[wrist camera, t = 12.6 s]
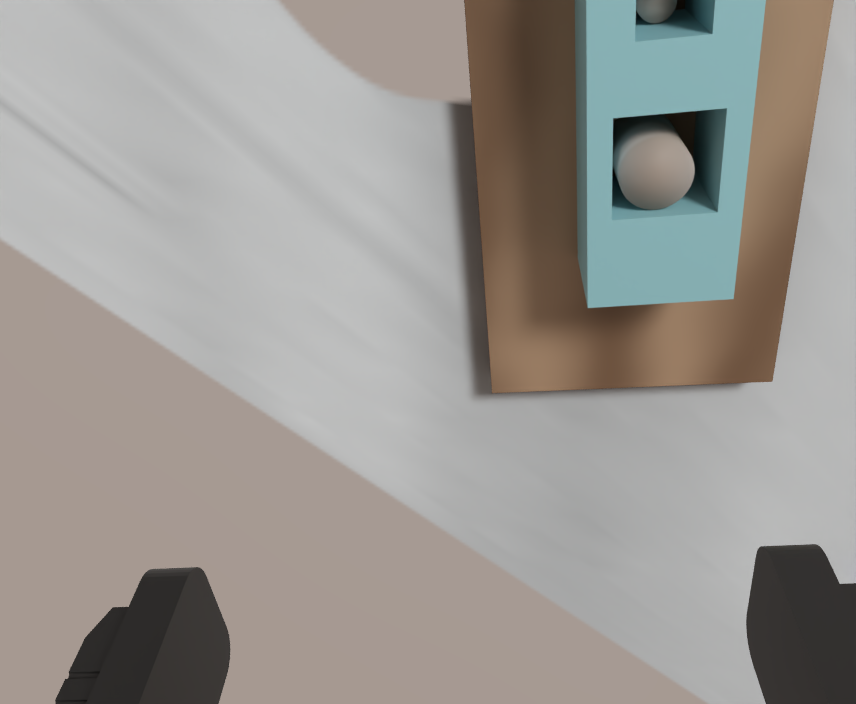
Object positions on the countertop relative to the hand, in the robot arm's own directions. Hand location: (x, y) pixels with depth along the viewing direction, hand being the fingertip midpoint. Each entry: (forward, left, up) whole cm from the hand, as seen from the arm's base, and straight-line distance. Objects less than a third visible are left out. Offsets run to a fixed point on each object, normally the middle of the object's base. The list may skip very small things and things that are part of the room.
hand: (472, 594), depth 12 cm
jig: (+6, -1, -23) cm, 23 cm away
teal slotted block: (+6, +1, -21) cm, 22 cm away
